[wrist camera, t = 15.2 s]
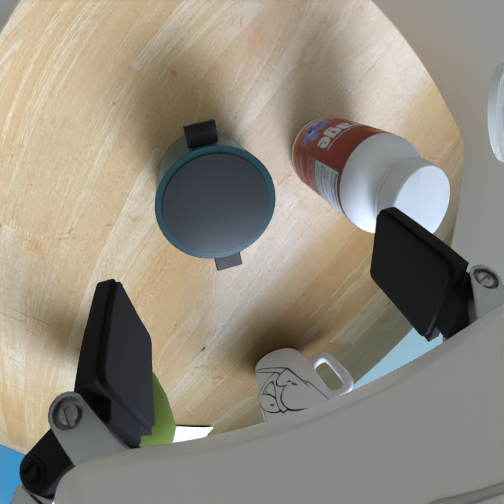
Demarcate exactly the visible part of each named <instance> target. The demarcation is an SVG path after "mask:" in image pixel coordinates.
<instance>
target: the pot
mask: <svg viewBox="0 0 504 504" xmlns="http://www.w3.org/2000/svg"><path fill="white" fill-rule="evenodd" d="M183 129H184V133H185V136H183V137H181V138H180V139H178V140H177V141H176V142H174V143H173V144H172V145H171V146H170V147H169V148H168V150H167V151H166V153H165V154H164V156H163V158H162V160H161V163H160V166H159V171H158V179H157V188H156V197H155V214H156V219H157V222H158V225H159V227H160V229H161V231H162V233H163V235H164V236H165V237H166V238H167V240H168V241H169V242H170V243H171V244H172V245H173V246H175V247H176V248H178V249H179V250H181V251H182V252H184V253H186V254H189V255H192V256H195V257H199V258H214V260H215V263H216V267H217V270H218V271H219V270H223V269H226V268H230V267H233V266H237V265H240V264H242V261H241V256H240V251H242V250H244V249H245V248H247V247H249V246H250V245H251V244H253V243H254V242H255V241H256V240H257V239H258V238H259V237H260V236H261V235H262V233H263V232H264V231H265V229H266V228H267V226H268V224H269V222H270V220H271V218H272V215H273V212H274V207H275V188H274V184H273V181H272V178H271V176H270V174H269V172H268V170H267V169H266V167H265V166H264V165H263V164H262V163H261V162H260V161H259V160H258V159H257V158H256V157H255V156H253V155H252V154H251V153H249V152H248V151H247V150H245V149H244V148H243V147H241V146H240V145H239V144H237V143H236V142H235V141H233V140H232V139H231V138H229V137H227V136H226V135H223V134H221V133H218V132H217V130H216V124H215V120H214V119H210V120H205V121H201V122H196V123H192V124H188V125H184V126H183Z"/></svg>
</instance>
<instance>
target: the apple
mask: <svg viewBox="0 0 504 504" xmlns="http://www.w3.org/2000/svg"><path fill="white" fill-rule="evenodd" d="M152 378H153V397H154V412H155V426H153V427H151V429H152V435H149V436H141V444H140V445H141V446H142V447H148V446H154V445H162V444H169V443H172V442H173V440H174V435H175V431H176V427H177V426H176V423H175V420H174V417H173V414H172V411H171V408H170V405H169V402H168V399H167V396H166V394H165V392H164V390H163V388H162V387H161V385H160V383H159V381H158V379H157V377H156V375H155V374H154V373H153V372H152Z"/></svg>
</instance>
